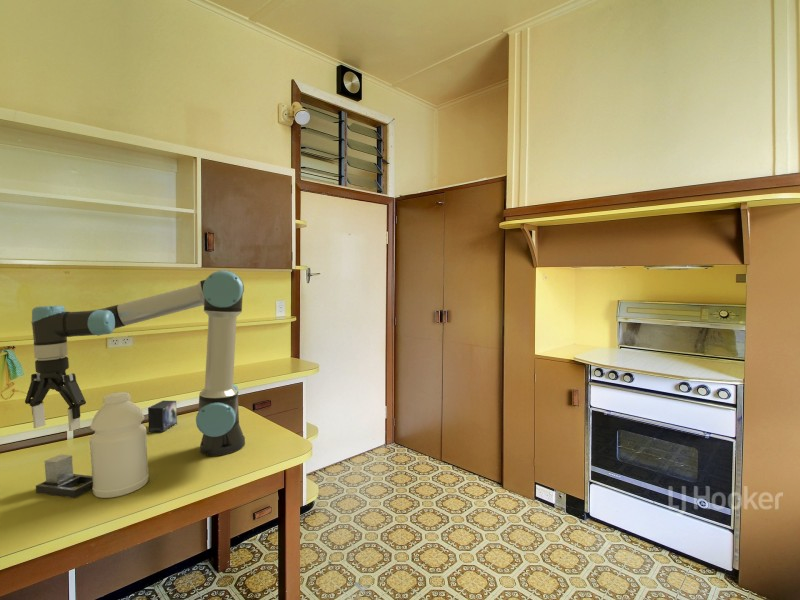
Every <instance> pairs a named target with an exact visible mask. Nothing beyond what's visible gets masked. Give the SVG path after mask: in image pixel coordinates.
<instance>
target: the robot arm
mask: <svg viewBox="0 0 800 600" xmlns="http://www.w3.org/2000/svg"><path fill="white" fill-rule="evenodd" d="M244 292H245V286H244V282H243V279H241V277H240V276H239V275H238V274H236V273H234V272H232V271H230V270H218V271H215V272H212V273H211V274H210V275H208V276H207V277H206V278H205V279H202V280H199V282H198V283H197V284H195V285H194V284H193V285H190V286H187V287H183V288H178V289H175V290H174V289H173V290H171V291H166V292H164V293H159V294H155V295H151V296H147V297H143V298H139V299H135V300H131V301H128V302H127V301H126V302H123V303H118V304H114V305H111V306H108V307H104V308H100V309H92V310H81V311H66V308H65V306H64V305H43V306H35V307H33V308H32V310H31V321H30V322H31V327H32V336H33V337H32V338H33V339H32V340H33V353H34V355H33V357H34V359H35V361H34V368H35V373H33V374H31V376H30V384H29V387H28V390H27V394H26V397H25V400H24V403H25V405H29V406H30V407H31V415H32V421H33V423H32V424H33V429H38V428H41V427H45V426H46V416H45V404H44V399H45V397H46V396H47V394H48V393H49V391H50V390H55V392H58V393H59V395H61V397H62V398H63V400H64V401H65V404H67V405H68V408H67V418H68V419H67V421H68V422H67V423H68V431H69V432H72V431H75V430H79V429H81V406H84V405H86V403H87V402H86V399H85V397H84V394H83V393H82V390H81V388H80V387H79V383H78V381H77V376H76V374H75V373H69V374H67V372H66V371H67V370H68V369H69V368H70V363H69V357H68V356H67V355H68V354H69V352H68V338H69V337H70V338H71V337H86V336H97V337H98V336H103V335H110V334H112V333H113V332H114V330H116V329H119V328H122V327H126V326H130V325H134V324H137V323H138V324H139V323H140V322H141V323H142V322H144V321H148V320H153V319H156V318H160V317H164V316H168V315H171V314H175V313H179V312H182V311H187V310H191V309H194V308H197V307H202V306H203V312H204V313H205V314H207V316H208V321H207V337H206V339H207V340H206V356H205V357H206V360H205V361H206V362H205V375H204V376H205V378H204V388H203V389H202V390H201V391H200V392H199V393H198V394H199V397H198V412H197V413H196V416H195V423H196V427H197V429H198V431H199V432H200V433H202V438H201V441H200V445H199V447H200V448H199V451H200V454H202V455H204V456H210V457H215V456H224V455H229V454H232V453H234V452H237V451H240V450H242V449H243V447H245V445H246V440H245V439H246V438H245V435H244V433H243V431H242V428H241V425H240V417H239V415H240V412H239V389H238V386H237V385H236V384H234V374H235V372H234V370H235V353H236V352H235V351H236V337H237V336H236V333H237V317H239V315H241V314H242V312H243V296H244V295H243V294H244Z"/></svg>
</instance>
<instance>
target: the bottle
mask: <svg viewBox="0 0 800 600" xmlns="http://www.w3.org/2000/svg"><path fill="white" fill-rule="evenodd" d="M131 399H132V398H131V393H130V392H127V391H126V392H125V391H122V392H121V391H120V392H115V393H109V394H106V395H105V396H103V398H102V403H103V405H102V406H101V407H100V408H99V409H98V410H97V412H96V413H95V415H94V417H93V418H92V421H91V424H90V427H89V429H90V430H92V431H93V432H94V433H93V434H92V435H91V436H90V438H89V447H90V463H91V476H92V480H93V488H92V489H91V491H92V493H93V495H94V497H96V498H99V499H107V498H108V499H109V498H116V497H122V496H125V495H128V494H131V493H133V492H135V491H137V490H139V489H141V488H143V487H144V486H145V485H146V484H147V483H148V481H149V476H150V474H149V465H148V446H147V441H148V440H147V427H146V426H144V424H142V422H143V421H144V420H145V414H144V413H143V411H142V410H141V408H140V406H138V405H137V404H136V403H134V402H133V401H131Z"/></svg>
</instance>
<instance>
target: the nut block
mask: <svg viewBox="0 0 800 600" xmlns="http://www.w3.org/2000/svg"><path fill="white" fill-rule="evenodd" d="M44 471H45V472H44V474H45V481H46V485H52V486H58V485H61V484H63V483H65V482H67V481H69V480H71V479H73V474H74V467H73V455H71V454H70V455H69V454H62V453H61V454H58V455H55V456H53V457H50V458H48V459H46V460H44Z"/></svg>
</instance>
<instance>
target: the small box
mask: <svg viewBox="0 0 800 600" xmlns="http://www.w3.org/2000/svg"><path fill="white" fill-rule="evenodd" d="M177 412H178V411H177V400H161V401H159V402H157V403H155V404H152V405H151V406H149V407H147V415H148V418H147V419H148V420H147V421H148V433H149V432H152V433H164V432H167V431H168V430H169V429H171V428H173V427H174V426H176V425H178V413H177ZM175 424H176V425H175ZM172 426H173V427H172ZM170 427H171V428H170ZM167 429H168V430H167Z"/></svg>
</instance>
